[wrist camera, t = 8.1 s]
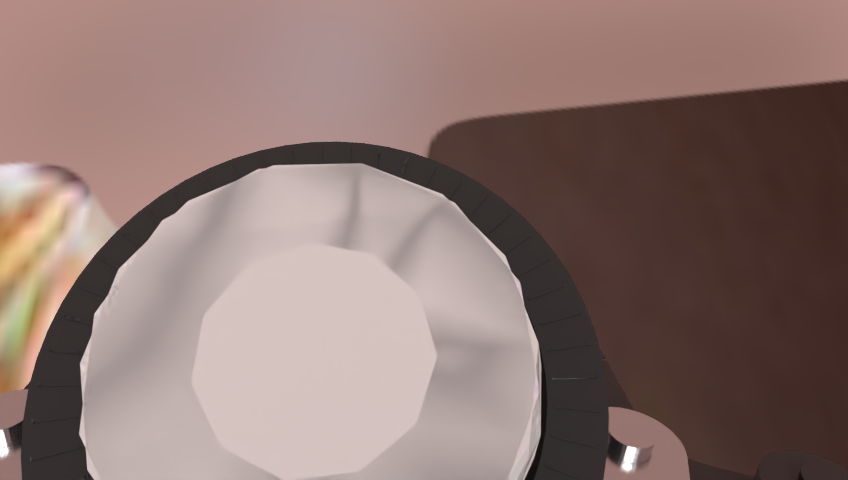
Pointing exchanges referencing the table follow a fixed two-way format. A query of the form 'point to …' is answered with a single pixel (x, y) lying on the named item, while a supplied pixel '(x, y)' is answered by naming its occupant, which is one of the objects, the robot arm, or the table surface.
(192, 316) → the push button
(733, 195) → the table surface
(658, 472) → the robot arm
